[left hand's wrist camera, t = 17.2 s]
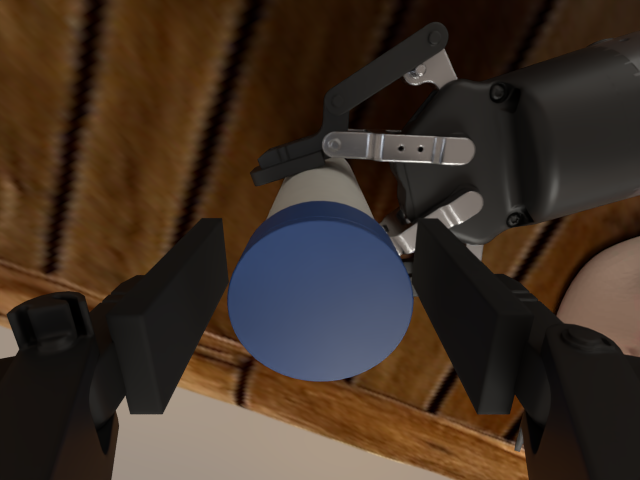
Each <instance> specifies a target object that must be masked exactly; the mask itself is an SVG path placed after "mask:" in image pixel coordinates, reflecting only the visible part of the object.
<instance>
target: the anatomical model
mask: <svg viewBox="0 0 640 480" xmlns="http://www.w3.org/2000/svg"><path fill="white" fill-rule="evenodd" d="M556 316H557V317H558V318H559V319H560V320H561V321H562V322H563V323H567V324H575V325H579V326H583V327H587V328H590V329H592V330H594V331H597V332H599V333H602V334H603V335H605V336H606V337H608V338H610V339H611V340H613V341H614V342H615V343H616V344H617V345H618V346H619V348H620V349H621V350H622V352H623V354H625V355H633V356H636V357H640V236H639V237H636V238H632V239H629V240H627V241H624V242H621V243H619V244H616V245H614V246H612V247H610V248H608V249H606V250H604V251H602V252H600V253H599V254H597V255H596V256H595V257H593V258H592V259H591V260H590V261H589V262H588V263H587V264H585V266H584V267H583V268H582V269H581V270H580V271H579V273H578V274H577V276H576V277H575V278H574V280H573V281H572V283H571V285H570V286H569V288H568V290H567V292H566V294H565V296H564V298H563V300H562V302H561V305H560V307H559V310H558V312H557V315H556Z"/></svg>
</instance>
